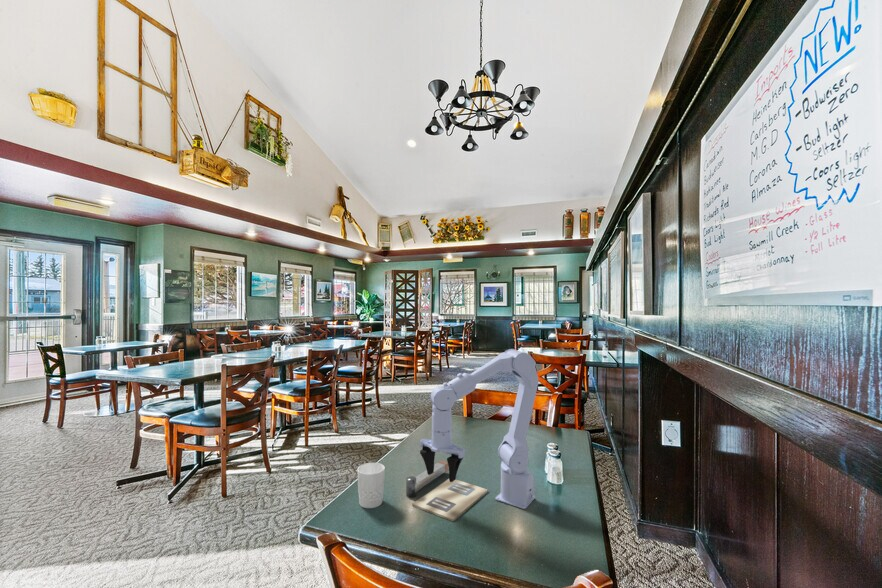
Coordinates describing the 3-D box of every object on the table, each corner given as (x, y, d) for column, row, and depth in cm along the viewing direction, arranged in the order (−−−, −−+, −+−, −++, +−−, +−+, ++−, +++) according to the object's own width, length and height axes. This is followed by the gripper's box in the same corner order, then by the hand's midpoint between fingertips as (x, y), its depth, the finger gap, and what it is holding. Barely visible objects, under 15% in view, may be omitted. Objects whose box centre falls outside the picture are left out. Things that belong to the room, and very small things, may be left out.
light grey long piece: (440, 470, 136) (440, 456, 136) (448, 472, 134) (448, 458, 134) (403, 495, 119) (404, 479, 119) (412, 498, 117) (412, 482, 117)
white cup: (351, 505, 113) (351, 470, 113) (368, 493, 120) (368, 460, 120) (373, 512, 109) (373, 476, 109) (389, 499, 116) (390, 465, 116)
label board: (488, 491, 122) (488, 489, 122) (453, 521, 105) (453, 518, 105) (450, 479, 129) (450, 477, 129) (412, 505, 113) (412, 503, 113)
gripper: (413, 428, 114) (412, 475, 114) (455, 438, 106) (455, 489, 105) (427, 422, 120) (427, 466, 119) (468, 431, 111) (468, 479, 111)
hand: (441, 477), depth 113 cm, fingers open, 7 cm apart
